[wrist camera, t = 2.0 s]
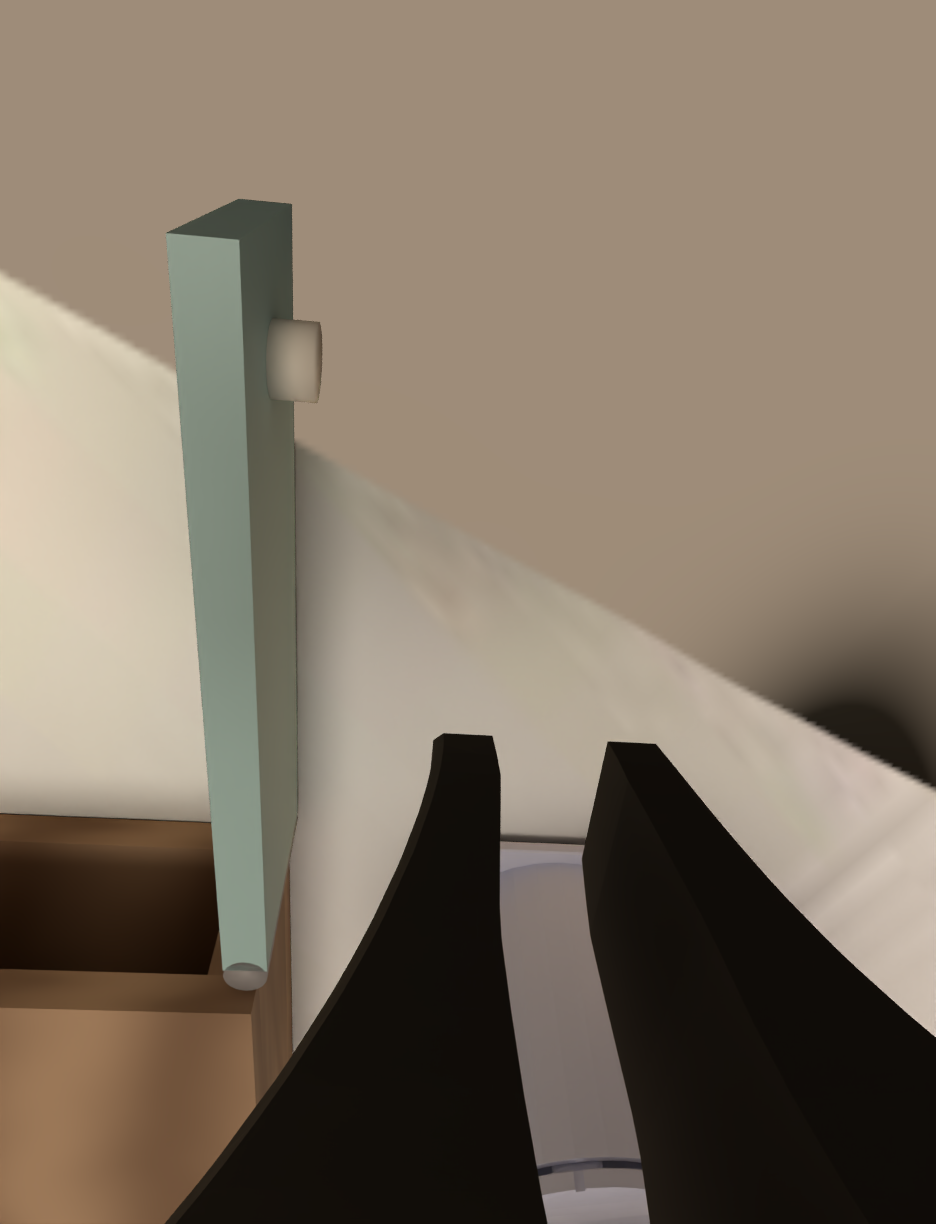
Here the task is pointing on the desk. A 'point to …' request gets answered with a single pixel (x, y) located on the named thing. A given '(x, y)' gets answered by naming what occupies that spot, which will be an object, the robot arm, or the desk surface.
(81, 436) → the desk surface
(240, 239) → the cabinet door
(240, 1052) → the walnut cabinet
